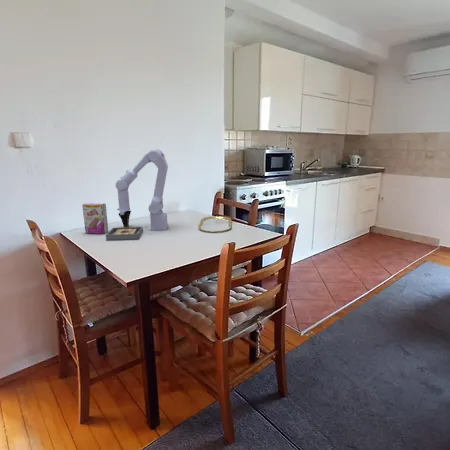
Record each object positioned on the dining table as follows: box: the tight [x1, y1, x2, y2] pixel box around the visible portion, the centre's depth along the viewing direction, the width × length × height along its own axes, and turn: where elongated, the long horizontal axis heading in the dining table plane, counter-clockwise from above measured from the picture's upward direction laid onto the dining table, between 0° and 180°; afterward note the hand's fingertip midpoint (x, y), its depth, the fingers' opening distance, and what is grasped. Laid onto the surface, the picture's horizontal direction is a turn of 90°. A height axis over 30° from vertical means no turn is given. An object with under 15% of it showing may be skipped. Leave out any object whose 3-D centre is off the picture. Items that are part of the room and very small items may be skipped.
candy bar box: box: [81, 202, 109, 235], centre depth 177 cm, size 11×5×16 cm, turn 84°
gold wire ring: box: [197, 215, 232, 234], centre depth 194 cm, size 19×35×2 cm, turn 179°
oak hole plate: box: [114, 229, 137, 234], centre depth 172 cm, size 10×10×2 cm
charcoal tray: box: [105, 226, 144, 242], centre depth 172 cm, size 16×14×3 cm
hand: (125, 224), depth 187 cm, fingers closed on walnut peg, 3 cm apart
